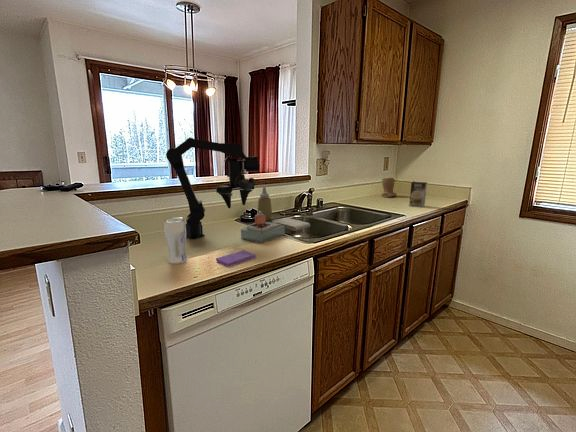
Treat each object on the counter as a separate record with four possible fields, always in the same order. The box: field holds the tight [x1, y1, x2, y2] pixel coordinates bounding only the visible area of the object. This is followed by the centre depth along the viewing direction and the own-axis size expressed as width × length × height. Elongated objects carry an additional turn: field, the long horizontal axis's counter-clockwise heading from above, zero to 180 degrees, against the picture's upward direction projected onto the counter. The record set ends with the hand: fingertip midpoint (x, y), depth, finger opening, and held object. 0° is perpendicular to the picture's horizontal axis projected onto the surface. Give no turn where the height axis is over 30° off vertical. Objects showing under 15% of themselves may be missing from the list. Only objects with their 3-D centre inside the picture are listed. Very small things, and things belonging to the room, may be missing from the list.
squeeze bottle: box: [256, 186, 273, 222], centre depth 168 cm, size 8×8×18 cm
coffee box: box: [408, 180, 428, 208], centre depth 208 cm, size 9×6×16 cm
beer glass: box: [163, 217, 188, 265], centre depth 108 cm, size 7×7×15 cm
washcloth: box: [271, 217, 311, 232], centre depth 158 cm, size 12×18×3 cm, turn 47°
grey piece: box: [240, 221, 286, 244], centre depth 140 cm, size 19×12×6 cm, turn 145°
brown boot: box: [380, 177, 398, 198], centre depth 248 cm, size 15×12×15 cm
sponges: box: [215, 249, 257, 267], centre depth 112 cm, size 7×13×2 cm, turn 137°
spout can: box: [254, 211, 267, 228], centre depth 136 cm, size 5×5×8 cm
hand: (236, 206), depth 142 cm, fingers open, 9 cm apart
